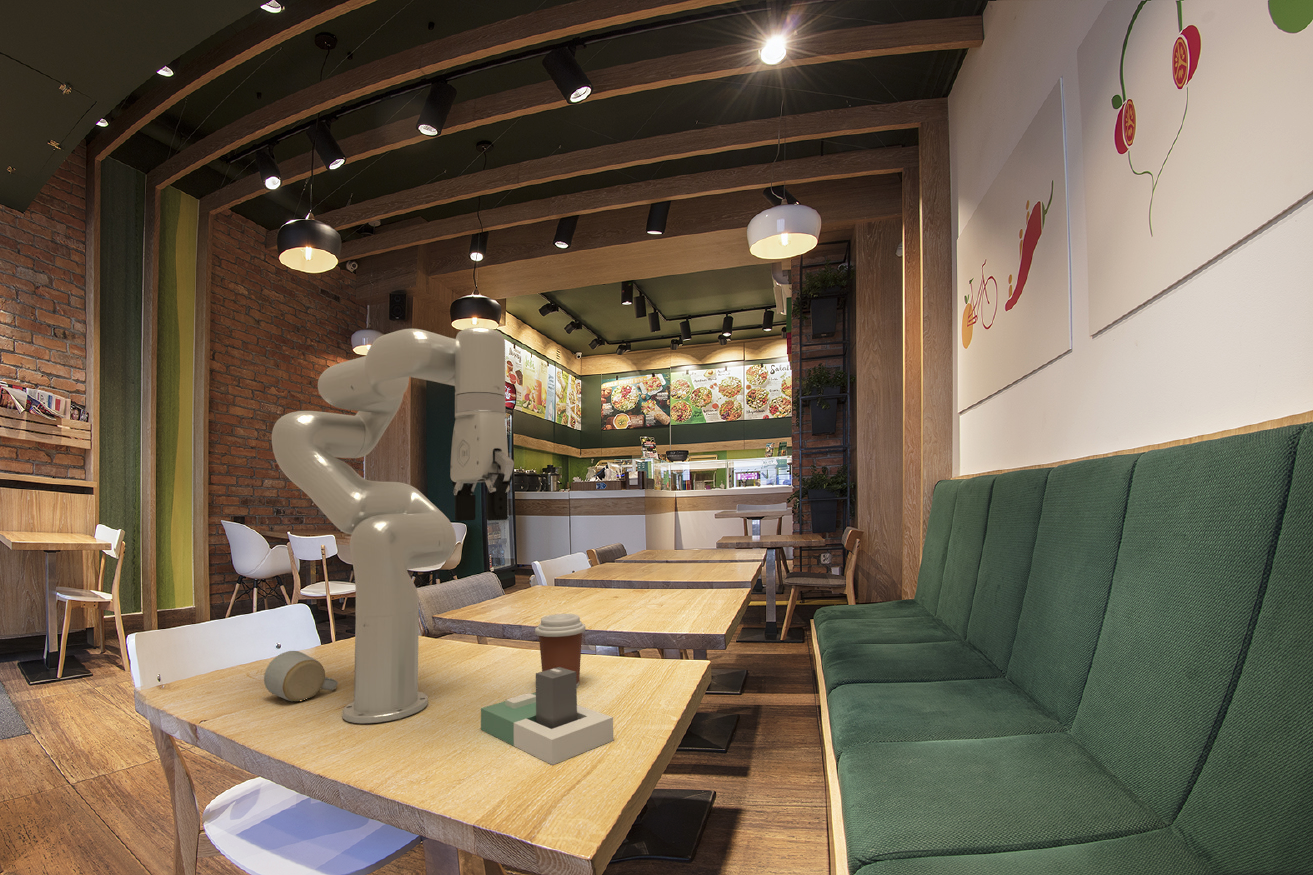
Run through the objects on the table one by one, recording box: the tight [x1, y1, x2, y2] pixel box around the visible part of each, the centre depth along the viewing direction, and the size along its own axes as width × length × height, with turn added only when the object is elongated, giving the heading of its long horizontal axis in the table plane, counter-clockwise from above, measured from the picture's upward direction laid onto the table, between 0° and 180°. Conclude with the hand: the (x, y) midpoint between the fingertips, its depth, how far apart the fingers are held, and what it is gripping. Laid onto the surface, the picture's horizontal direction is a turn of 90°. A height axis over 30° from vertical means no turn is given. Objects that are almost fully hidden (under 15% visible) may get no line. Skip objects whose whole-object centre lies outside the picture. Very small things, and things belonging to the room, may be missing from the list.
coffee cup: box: [534, 613, 587, 688], centre depth 106 cm, size 9×9×12 cm
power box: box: [480, 691, 614, 766], centre depth 83 cm, size 18×10×4 cm, turn 45°
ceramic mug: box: [263, 650, 339, 702], centre depth 105 cm, size 11×8×8 cm
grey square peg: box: [535, 667, 578, 729], centre depth 81 cm, size 4×4×9 cm
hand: (480, 520), depth 89 cm, fingers open, 9 cm apart
